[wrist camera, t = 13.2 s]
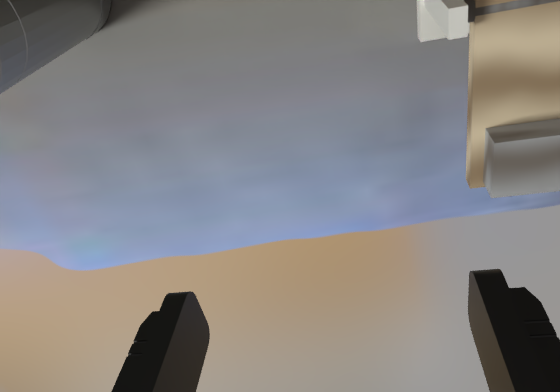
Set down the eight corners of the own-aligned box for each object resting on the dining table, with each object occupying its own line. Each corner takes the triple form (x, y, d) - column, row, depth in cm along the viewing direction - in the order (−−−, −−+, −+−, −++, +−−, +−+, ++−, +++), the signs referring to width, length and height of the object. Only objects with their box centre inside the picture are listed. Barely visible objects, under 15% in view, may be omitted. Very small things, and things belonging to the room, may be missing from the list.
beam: (571, 166, 38) (593, 193, 35) (459, 179, 40) (471, 206, 37) (657, -333, 22) (714, -371, 19) (466, -276, 24) (487, -301, 21)
